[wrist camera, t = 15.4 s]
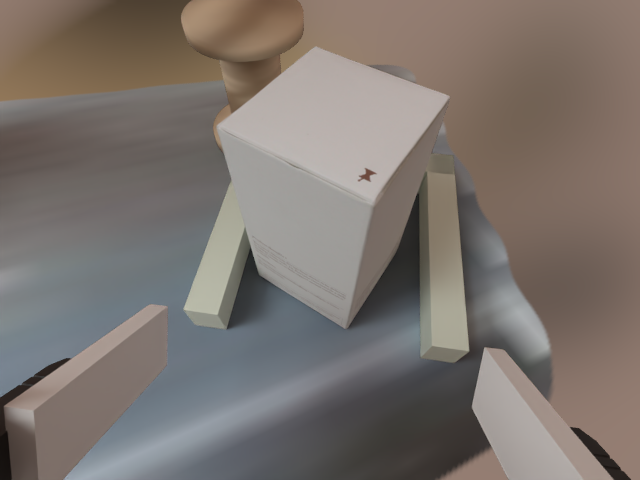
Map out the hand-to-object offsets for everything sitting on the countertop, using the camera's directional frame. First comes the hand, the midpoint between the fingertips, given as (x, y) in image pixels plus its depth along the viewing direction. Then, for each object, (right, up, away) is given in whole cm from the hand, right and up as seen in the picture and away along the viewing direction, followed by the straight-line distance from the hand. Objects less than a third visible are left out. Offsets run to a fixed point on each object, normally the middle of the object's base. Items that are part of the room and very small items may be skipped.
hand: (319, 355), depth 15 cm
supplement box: (+1, +3, +11) cm, 11 cm away
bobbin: (-5, +14, +17) cm, 23 cm away
